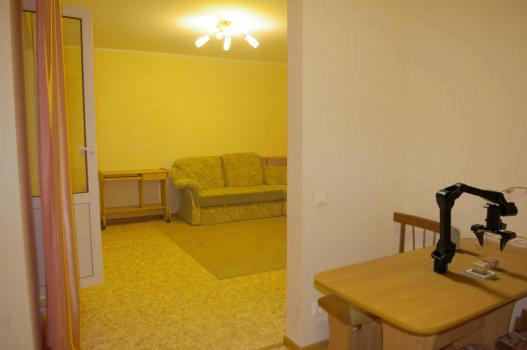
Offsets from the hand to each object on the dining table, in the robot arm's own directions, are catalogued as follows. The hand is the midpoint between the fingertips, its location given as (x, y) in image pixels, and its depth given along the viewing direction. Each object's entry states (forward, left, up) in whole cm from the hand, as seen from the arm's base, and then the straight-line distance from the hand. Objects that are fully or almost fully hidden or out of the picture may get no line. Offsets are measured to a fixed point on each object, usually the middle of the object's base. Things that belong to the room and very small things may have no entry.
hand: (491, 248), depth 185 cm
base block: (-12, -2, -9) cm, 15 cm away
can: (+12, +28, -10) cm, 32 cm away
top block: (0, 0, -10) cm, 10 cm away
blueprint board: (-12, -2, -10) cm, 16 cm away
